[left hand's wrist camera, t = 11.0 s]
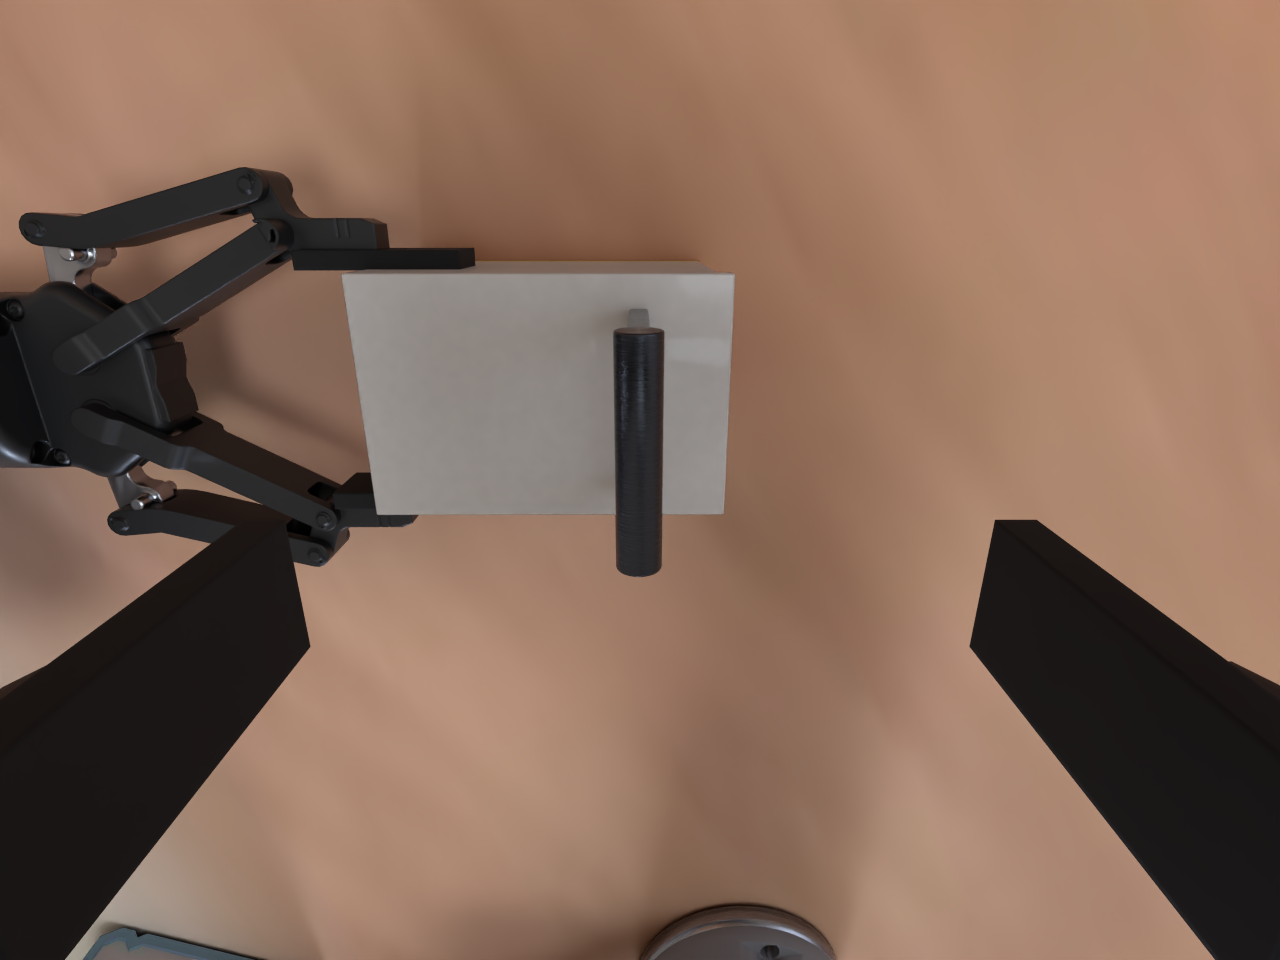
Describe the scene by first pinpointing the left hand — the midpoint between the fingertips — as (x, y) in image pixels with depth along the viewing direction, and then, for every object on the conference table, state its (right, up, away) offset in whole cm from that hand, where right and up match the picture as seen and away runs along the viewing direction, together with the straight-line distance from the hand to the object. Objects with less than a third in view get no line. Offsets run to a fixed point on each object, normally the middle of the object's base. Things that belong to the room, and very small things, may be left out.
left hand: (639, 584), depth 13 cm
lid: (-4, +5, +14) cm, 15 cm away
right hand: (-7, +6, +17) cm, 19 cm away
